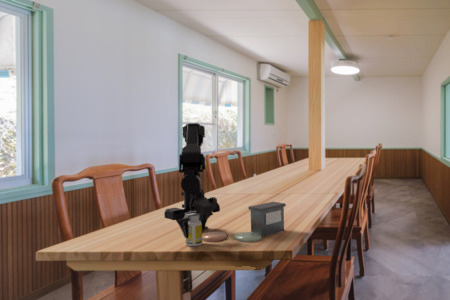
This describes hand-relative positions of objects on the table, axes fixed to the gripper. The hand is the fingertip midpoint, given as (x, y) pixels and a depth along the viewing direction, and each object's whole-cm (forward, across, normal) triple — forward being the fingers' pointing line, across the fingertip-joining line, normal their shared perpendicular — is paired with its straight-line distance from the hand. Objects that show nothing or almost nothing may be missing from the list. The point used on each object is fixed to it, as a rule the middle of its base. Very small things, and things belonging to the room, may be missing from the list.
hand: (193, 236), depth 122 cm
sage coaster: (+2, +17, -8) cm, 19 cm away
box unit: (+2, +27, -8) cm, 28 cm away
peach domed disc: (+2, +9, +1) cm, 9 cm away
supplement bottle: (+3, 0, 0) cm, 3 cm away
